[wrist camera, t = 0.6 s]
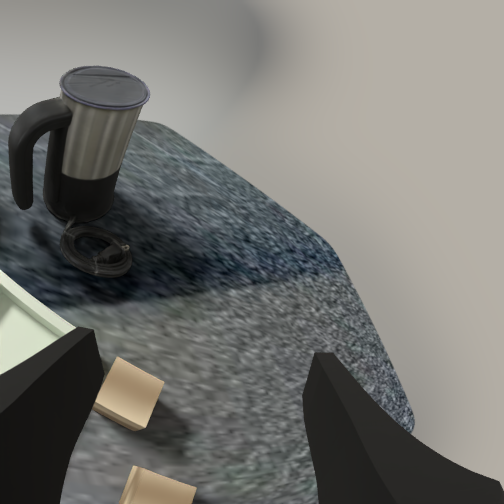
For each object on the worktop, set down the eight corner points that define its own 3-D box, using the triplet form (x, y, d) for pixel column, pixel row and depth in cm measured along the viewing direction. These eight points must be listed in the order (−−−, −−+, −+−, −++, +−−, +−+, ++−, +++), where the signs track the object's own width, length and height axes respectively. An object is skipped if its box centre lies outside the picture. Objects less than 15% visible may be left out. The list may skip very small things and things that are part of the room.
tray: (28, 477, 13) (23, 480, 12) (-70, 395, 11) (-81, 389, 10) (91, 348, 24) (93, 338, 22) (2, 282, 21) (-2, 268, 20)
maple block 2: (163, 519, 17) (182, 531, 14) (118, 503, 16) (127, 514, 13) (176, 482, 20) (196, 487, 17) (133, 465, 19) (144, 468, 16)
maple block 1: (134, 431, 21) (145, 427, 18) (92, 409, 20) (94, 401, 17) (150, 393, 24) (164, 382, 21) (110, 371, 23) (117, 356, 20)
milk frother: (77, 159, 35) (104, 58, 25) (169, 222, 37) (223, 124, 27) (-1, 219, 24) (-5, 96, 15) (104, 306, 27) (138, 196, 17)
